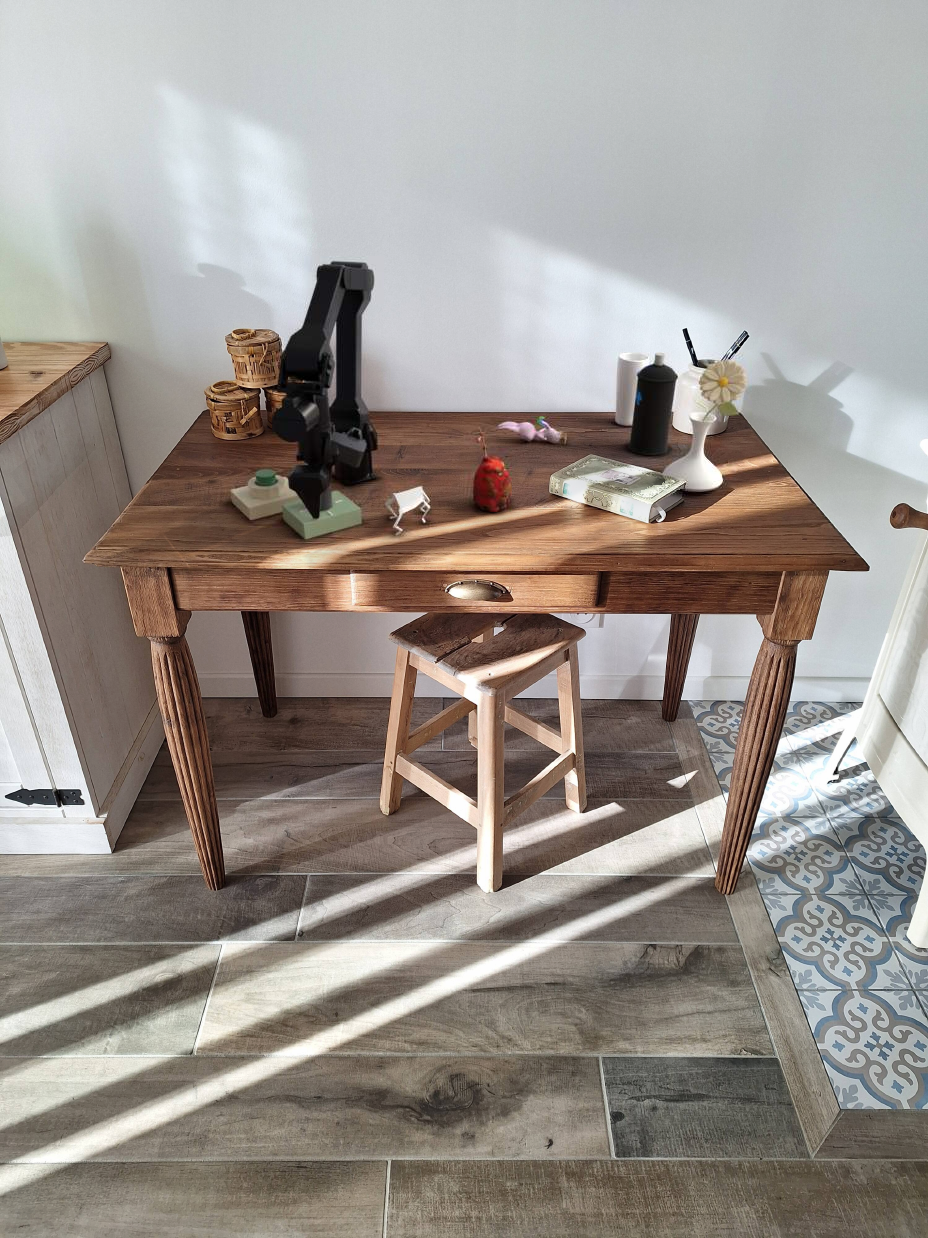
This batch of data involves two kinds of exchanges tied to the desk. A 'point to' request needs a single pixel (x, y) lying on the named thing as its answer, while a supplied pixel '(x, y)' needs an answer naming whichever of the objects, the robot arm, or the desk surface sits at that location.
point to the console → (322, 516)
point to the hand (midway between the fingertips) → (320, 506)
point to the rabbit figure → (534, 431)
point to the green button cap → (265, 477)
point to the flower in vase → (721, 388)
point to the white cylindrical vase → (627, 385)
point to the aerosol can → (653, 408)
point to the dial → (326, 499)
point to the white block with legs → (408, 503)
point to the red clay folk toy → (491, 483)
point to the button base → (263, 498)
